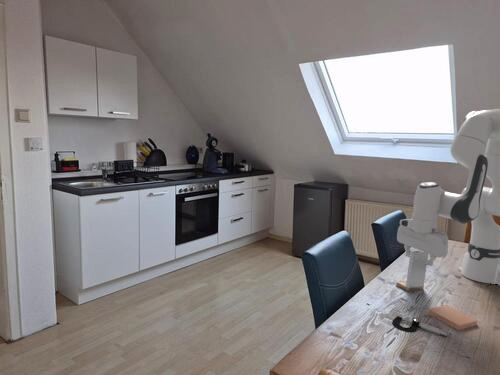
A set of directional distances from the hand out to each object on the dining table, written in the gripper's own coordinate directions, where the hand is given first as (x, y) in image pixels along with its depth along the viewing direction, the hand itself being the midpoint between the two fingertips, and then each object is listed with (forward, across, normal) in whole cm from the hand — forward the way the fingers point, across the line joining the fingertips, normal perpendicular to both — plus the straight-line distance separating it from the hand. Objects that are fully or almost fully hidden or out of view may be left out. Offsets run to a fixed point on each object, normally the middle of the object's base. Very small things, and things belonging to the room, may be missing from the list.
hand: (418, 260), depth 141 cm
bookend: (+12, +2, 0) cm, 12 cm away
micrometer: (+12, -22, +24) cm, 35 cm away
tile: (+11, -15, +7) cm, 20 cm away
